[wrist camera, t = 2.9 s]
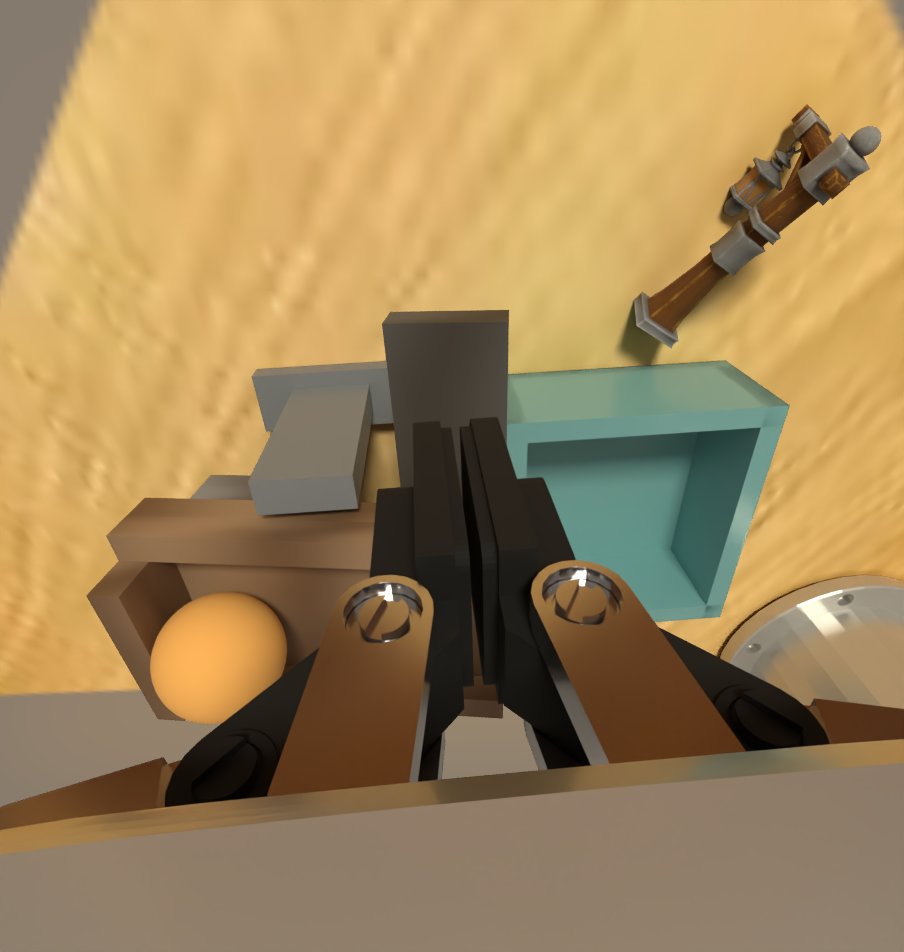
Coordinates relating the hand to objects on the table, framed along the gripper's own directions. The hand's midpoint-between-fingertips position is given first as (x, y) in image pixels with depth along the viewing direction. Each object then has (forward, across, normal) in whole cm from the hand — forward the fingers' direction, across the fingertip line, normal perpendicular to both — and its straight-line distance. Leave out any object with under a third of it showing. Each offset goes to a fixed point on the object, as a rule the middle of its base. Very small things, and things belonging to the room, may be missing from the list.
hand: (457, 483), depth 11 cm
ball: (+3, +8, +8) cm, 11 cm away
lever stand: (+12, +4, +8) cm, 15 cm away
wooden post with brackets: (+12, -10, -3) cm, 16 cm away
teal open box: (+12, -7, +8) cm, 16 cm away
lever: (+8, +4, +5) cm, 10 cm away
